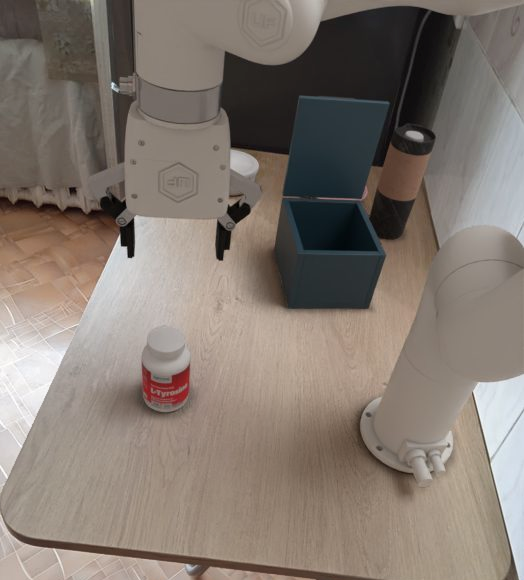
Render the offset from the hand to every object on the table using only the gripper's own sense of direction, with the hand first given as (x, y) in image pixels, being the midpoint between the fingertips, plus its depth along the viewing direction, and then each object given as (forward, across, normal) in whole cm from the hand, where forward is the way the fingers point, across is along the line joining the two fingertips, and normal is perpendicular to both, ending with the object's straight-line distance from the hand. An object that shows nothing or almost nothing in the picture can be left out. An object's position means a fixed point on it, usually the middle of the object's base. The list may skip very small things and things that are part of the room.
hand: (175, 252), depth 63 cm
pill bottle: (+23, -1, -2) cm, 23 cm away
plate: (+23, +34, +53) cm, 67 cm away
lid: (+3, +26, +32) cm, 41 cm away
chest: (+22, +26, +24) cm, 42 cm away
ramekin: (+23, +12, +55) cm, 61 cm away
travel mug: (+22, +43, +40) cm, 63 cm away
